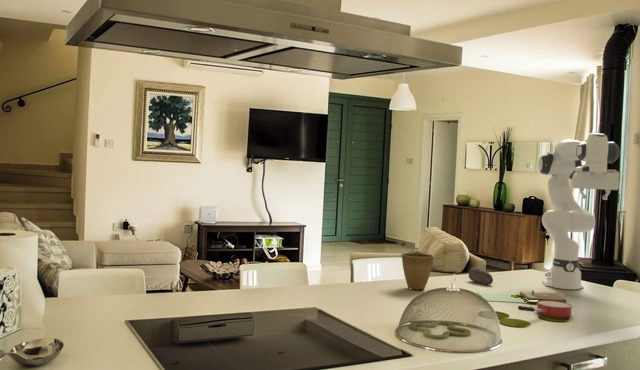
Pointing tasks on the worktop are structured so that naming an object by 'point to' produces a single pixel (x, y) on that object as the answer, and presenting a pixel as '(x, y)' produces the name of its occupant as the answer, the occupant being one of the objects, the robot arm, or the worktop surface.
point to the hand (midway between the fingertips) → (594, 199)
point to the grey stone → (480, 276)
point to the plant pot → (417, 269)
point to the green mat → (500, 297)
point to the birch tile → (545, 293)
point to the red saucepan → (550, 308)
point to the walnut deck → (532, 297)
